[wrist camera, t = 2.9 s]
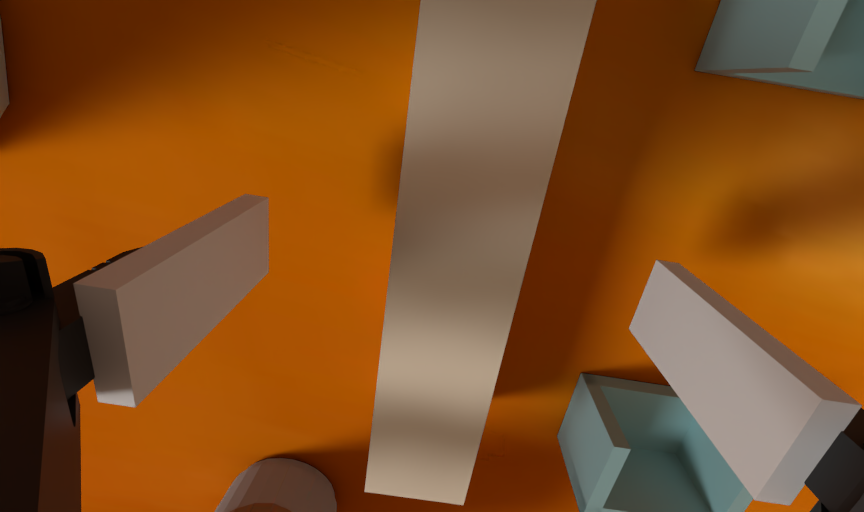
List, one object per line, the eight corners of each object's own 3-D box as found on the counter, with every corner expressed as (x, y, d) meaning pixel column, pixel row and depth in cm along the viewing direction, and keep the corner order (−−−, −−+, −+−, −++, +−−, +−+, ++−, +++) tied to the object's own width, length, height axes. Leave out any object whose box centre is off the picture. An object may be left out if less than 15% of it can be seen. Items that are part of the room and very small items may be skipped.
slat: (444, -74, 14) (440, -176, 8) (560, -54, 14) (634, -142, 8) (385, 387, 22) (364, 491, 16) (460, 397, 22) (463, 505, 16)
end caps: (750, -78, 13) (887, -149, 9) (946, -43, 13) (1168, -97, 9) (557, 436, 22) (581, 517, 18) (674, 453, 22) (725, 538, 18)
